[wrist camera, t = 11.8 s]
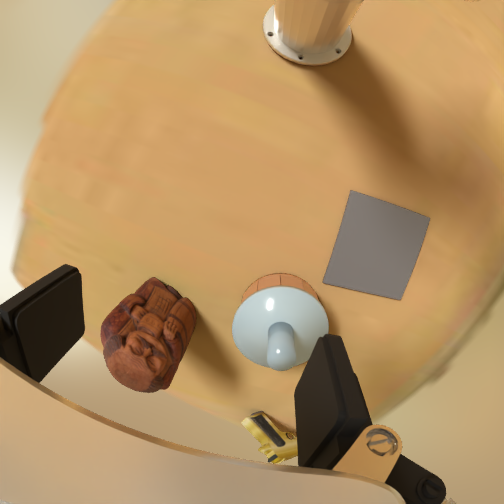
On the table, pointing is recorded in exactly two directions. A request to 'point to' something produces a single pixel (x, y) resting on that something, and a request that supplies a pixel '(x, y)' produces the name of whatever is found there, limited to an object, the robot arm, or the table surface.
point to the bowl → (278, 283)
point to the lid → (279, 326)
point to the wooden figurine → (148, 336)
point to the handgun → (271, 438)
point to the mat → (376, 247)
